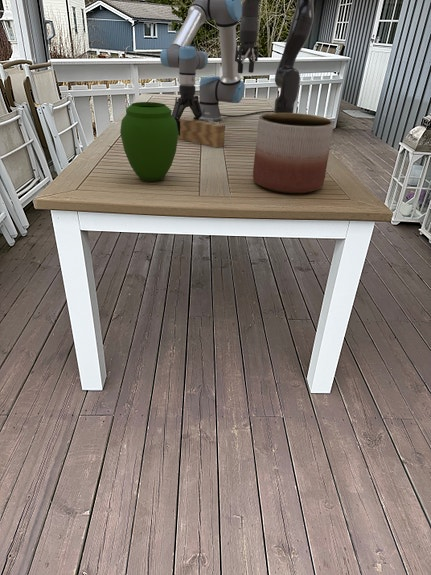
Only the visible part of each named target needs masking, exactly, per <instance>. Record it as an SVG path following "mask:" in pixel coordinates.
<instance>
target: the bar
mask: <svg viewBox="0 0 431 575" xmlns="http://www.w3.org/2000/svg"><path fill="white" fill-rule="evenodd" d="M179 121H180V136H178V140H182V141H187V142H192V143H195V144H200V145H204V146H209V147H213V148H216V149H217V148H222V147H225V136H226V135H225V134H226V125H225V124H220V123H217V122H214V123H211V122H206V121H203V120H195V119H193V118H191V117H180V119H179Z"/></svg>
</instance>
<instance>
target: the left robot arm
mask: <svg viewBox="0 0 431 575" xmlns="http://www.w3.org/2000/svg"><path fill="white" fill-rule="evenodd" d="M242 4H243V2H242V0H193V2H192V3H191V4H190V6H189V8H188V9H187V16H186V18H185V20H184V21H183V23H182V25H181V27H180V29H179V30H178V32H177V33H176V35H175V37H174V39H173V41H172V43H171V44H170V46H169V47H168V48H163V49H162V50H161V51H160V53H159V54H160V56H159V60H160V62H161V63H160V64H161V65H162V66H163V67H167V68H170V69H171V68H173V69H176V68H177V69H179V71H178V83H179V86H178V93H179V95H180V97H178V96H176V97H175V99H174V100H175V102H174V106H173V109H172V111H171V115H172V116H173V118H174V119H175V120H176V123H177V128H178V133H179V134H178V137H179V136H180V121H179V119H180V118H182V115H183V112H185V109H186V108H190V110H191V112H192V114H193V116H194V117H192V119H195V120H201V121H205V120H208V119H212V120H213V121H214V122H218V121H221V120H222V117H227V118H228V117H229V118H240V117H246V116H252V115H255V114H261V113H262V114H265V113H274V110H259V111H254V112H250V113H246V114H234V115H232V114H231V115H230V114H224V113H223V114H222V113H221V110H220V107H219V105H220V103H230V104H239V103H240V102H241V101H242V99H243V97H244V94H245V88H246V85H245V82H244V81H243V80H241V78H242V77H241V75H240V74H239V73H238V63H237V62H235V53H236V46H237V29H236V27H237V26H238V24H239V21H241V17H242V16H241V14H242ZM209 20H212V21H215V26H216V27H217V29H218V34H219V45H220V58H221V59H220V60H221V72H222V74H221V77H220V76H218V75H217V76H206V77H201V78H200V80H199V86H198V87H199V94H198V95H199V96H198V95H196V73H197V70H199V71H200V70H203V69H205V68H206V67H207V65H208V63H209V58H208V55H207V53H206V52H204V51H202V50H197V48H196V47H195V46H191V44H192V42H193V40H194V38H195V36H196V35H197V33H198V30H199V29H200V27H201V26H203V25H204V24H205V22H206V21H209ZM219 102H220V103H219Z"/></svg>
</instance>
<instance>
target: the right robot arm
mask: <svg viewBox="0 0 431 575" xmlns="http://www.w3.org/2000/svg"><path fill="white" fill-rule="evenodd" d="M260 3H261V0H242V14H241V19H240V24H239V38H238V42H239V43H240V45H237V44H236V53H235V62H237V69H238V74H243V72H244V62H245V60H248V62H249V63H248V71H247V72H248V73H250V74H252V73H254V69H255V63H256V62H258V60H259V46H258V45H255V44H256V43H257V42H258V30H259V13H260V10H259V9H260ZM314 8H315V7H314V0H297V1H296V6H295V8H294V9H295V10H294V13H293V16H292V19H291V23H290V27H289V31H288V34H287V38H286V41H285V45H284V49H283V52H282V55H281V58H280V61H279V63H278V66H277V69H276V71H275V75H274V84H275V86H276V87H278V88H279V89H280V94H279V96H277V97H276V98H275V100H274V108H273V111H274V112H273V113H294V108H295V103H296V100H297V98H298V94H299V88H300V82H301V74H300V72H299V70H298V69H297V68H294V67H295V63H296V60H297V57H298V55H299V53H300V52H301V50H302V49H303V48H304V46H305V44H306V43H307V41H308V39H309V37H310V34H311V31H312V28H313V24H314V19H315V11H314V10H315V9H314Z"/></svg>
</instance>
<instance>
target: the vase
mask: <svg viewBox="0 0 431 575" xmlns="http://www.w3.org/2000/svg"><path fill="white" fill-rule="evenodd" d="M125 113H126V114H125V115H124V117H122V119H121V122H120V123H121V124H120V130H119V133H120V138H121V142H122V147H123V150H124V154H125V155H126V158H127V160H128V163H129V165H130V167H131V168H132V170H133V172H134V173H135V175H136V176H137V177H138V178H139V179H141V180H143V181H145V182H159V181H161V180H163V179H164V178H165V176H166V175H167V174H168V173H169V170H170V169H171V167H172V165H173V162H174V159H175V157H176V156H175V155H176V153H177V147H178V140H179V136H178V134H179V133H178V128H177V123H176V120H175V119H174V118H173V116H172V109H171V108H170V107H169V106H167V105H166V104H164V103H162V102H155V101H138V102H132V103H131V104H130V105H128V107H127V108H125Z"/></svg>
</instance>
